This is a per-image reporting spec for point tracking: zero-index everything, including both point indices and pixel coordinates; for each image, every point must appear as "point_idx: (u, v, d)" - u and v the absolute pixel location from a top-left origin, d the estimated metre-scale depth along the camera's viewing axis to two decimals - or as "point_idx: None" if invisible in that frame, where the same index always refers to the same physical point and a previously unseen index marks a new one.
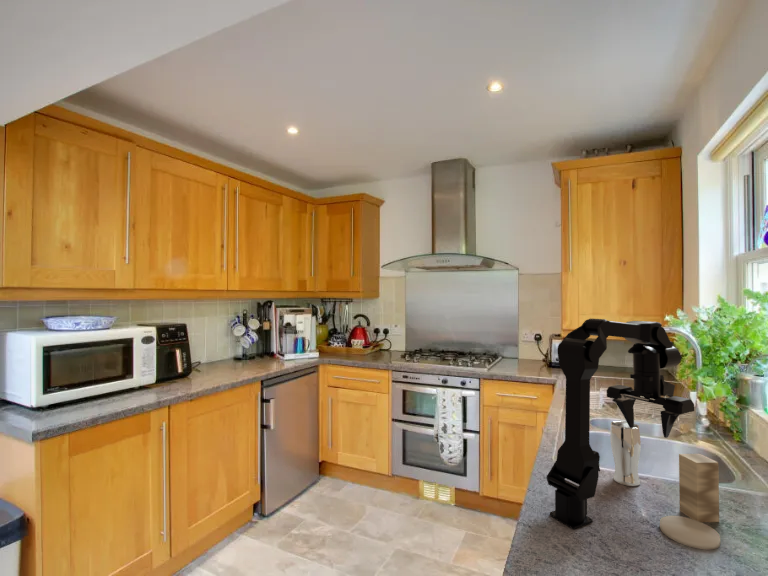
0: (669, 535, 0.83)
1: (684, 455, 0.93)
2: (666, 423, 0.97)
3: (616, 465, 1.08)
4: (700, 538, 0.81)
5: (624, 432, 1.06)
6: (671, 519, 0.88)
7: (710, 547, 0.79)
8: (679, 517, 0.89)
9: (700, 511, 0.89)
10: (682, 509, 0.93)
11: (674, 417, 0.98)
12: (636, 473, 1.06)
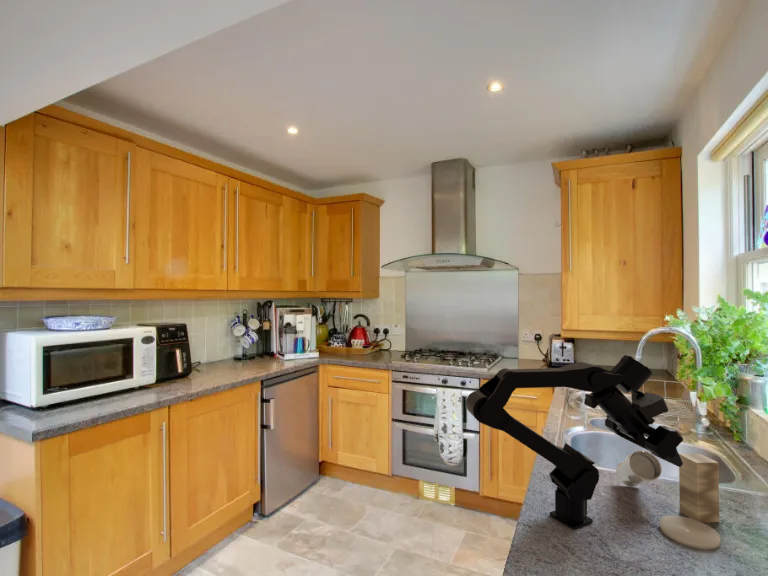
0: (669, 535, 0.83)
1: (684, 455, 0.93)
2: (666, 460, 0.85)
3: (622, 473, 1.04)
4: (700, 538, 0.81)
5: (641, 480, 0.94)
6: (671, 519, 0.88)
7: (710, 547, 0.79)
8: (679, 517, 0.89)
9: (700, 511, 0.89)
10: (682, 509, 0.93)
11: None
12: None
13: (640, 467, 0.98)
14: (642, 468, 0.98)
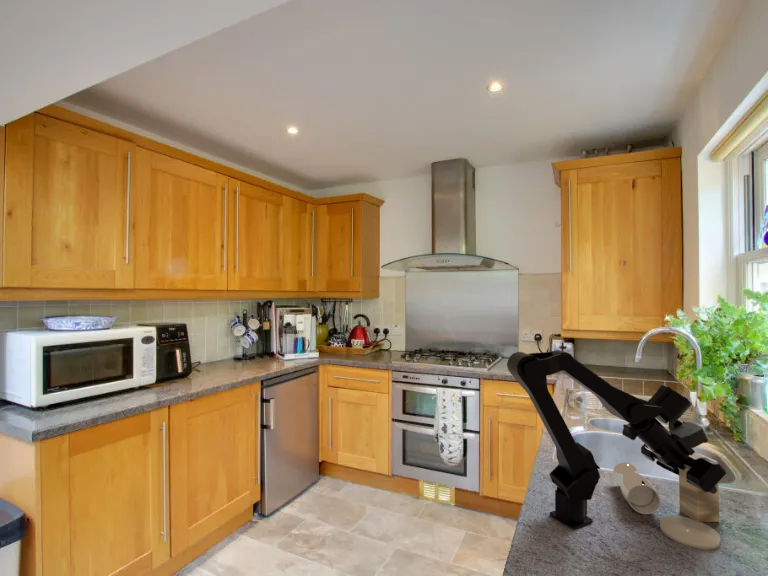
0: (669, 535, 0.83)
1: None
2: None
3: None
4: (700, 538, 0.81)
5: None
6: (671, 519, 0.88)
7: (710, 547, 0.79)
8: (679, 517, 0.89)
9: (700, 511, 0.89)
10: (682, 509, 0.93)
11: None
12: None
13: (638, 491, 0.95)
14: (640, 492, 0.95)
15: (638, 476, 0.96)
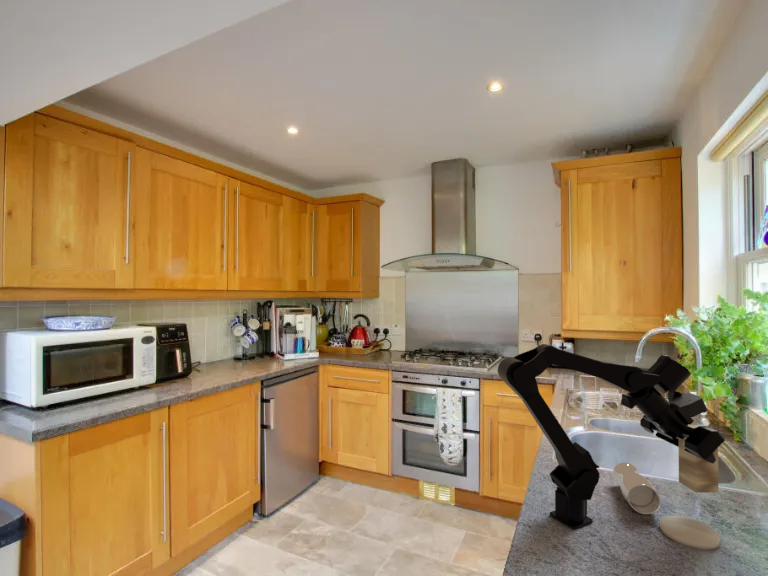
0: (669, 535, 0.83)
1: None
2: (699, 457, 0.87)
3: None
4: (700, 538, 0.81)
5: None
6: (671, 519, 0.88)
7: (710, 547, 0.79)
8: (679, 517, 0.89)
9: (699, 481, 0.88)
10: (681, 480, 0.93)
11: None
12: None
13: (638, 491, 0.95)
14: (640, 492, 0.95)
15: (638, 476, 0.96)
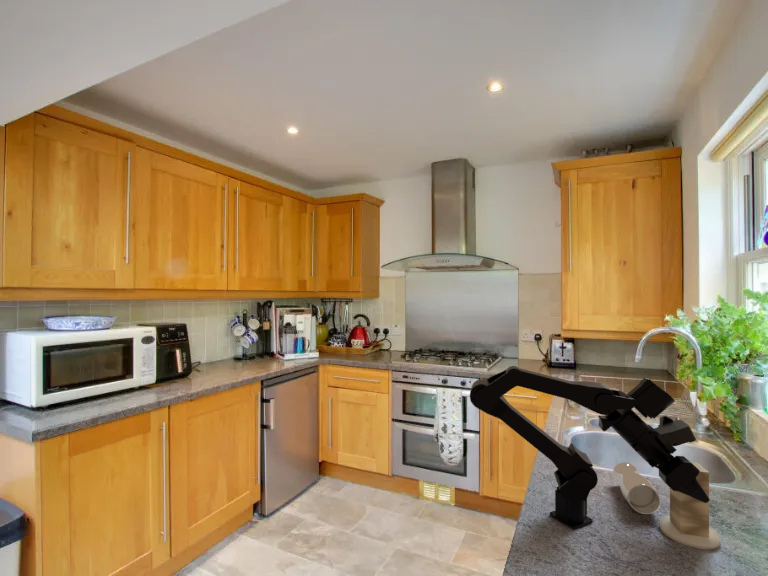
0: (669, 535, 0.83)
1: None
2: (685, 493, 0.79)
3: None
4: (700, 538, 0.81)
5: None
6: None
7: (710, 547, 0.79)
8: None
9: (685, 522, 0.82)
10: (671, 519, 0.86)
11: (693, 481, 0.79)
12: None
13: (638, 491, 0.95)
14: (640, 492, 0.95)
15: (638, 476, 0.96)
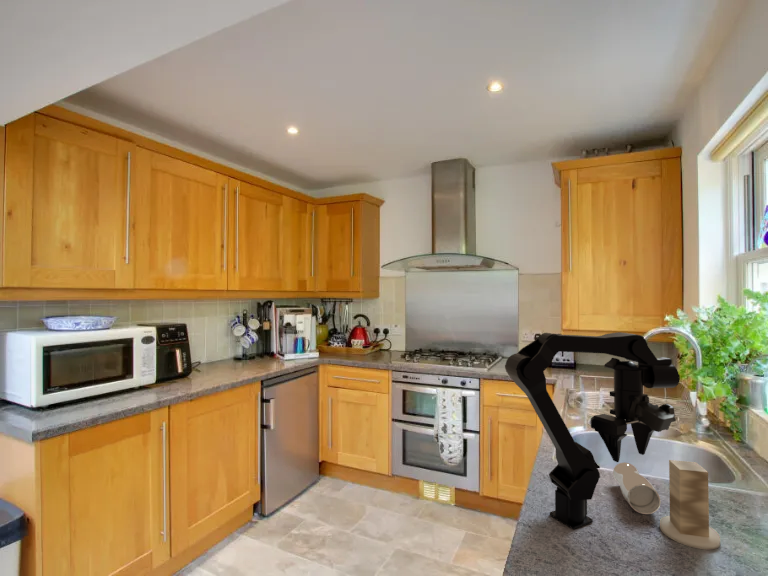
0: (669, 535, 0.83)
1: (674, 461, 0.87)
2: (604, 441, 0.91)
3: None
4: (700, 538, 0.81)
5: None
6: None
7: (710, 547, 0.79)
8: None
9: (685, 523, 0.82)
10: (671, 519, 0.86)
11: (615, 440, 0.88)
12: None
13: (638, 491, 0.95)
14: (640, 492, 0.95)
15: (638, 476, 0.96)
